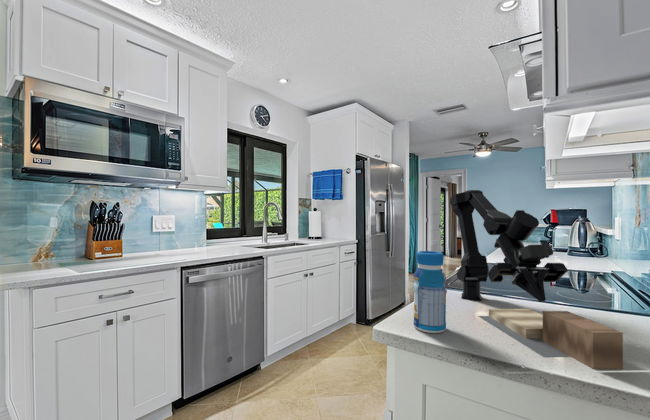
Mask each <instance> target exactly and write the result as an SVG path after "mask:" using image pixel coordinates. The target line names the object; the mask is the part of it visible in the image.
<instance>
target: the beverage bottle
mask: <svg viewBox="0 0 650 420" xmlns="http://www.w3.org/2000/svg"><path fill="white" fill-rule="evenodd" d="M444 262H445V261H444V253H443V252H440V251H433V250H420V251H417V252H416V264H417V265H418V267H417V268H416V270H415V272H414V273H413V274H414V275H413V280H414V283H413V285H412V290H413V326H414V328H415V329H416V330H418V331H420V332H424V333H428V334H440V333H443V332H445V331H446V330H447V322H446V320H447V319H446V318H447V317H446V315H447V313H446V312H447V311H446V310H447V309H446V308H447V292H448V289H447V285H446V282H447V277H446V274H445V272H444V270H443V269H442V267H443V266H444Z"/></svg>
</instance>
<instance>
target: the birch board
mask: <svg viewBox="0 0 650 420" xmlns="http://www.w3.org/2000/svg"><path fill="white" fill-rule="evenodd" d="M488 316H489V317H490V318H492V319H494V320H496V321H497V322H499V323H501V324H502V325H504V326H506V327H507V328H509V329H511V330H513V331H514V332H516V333H518V334H519V335H521V336H523V337H525V338H543V314H541V313H539V312H537V311H534V310H532V309H530V308H489V309H488Z"/></svg>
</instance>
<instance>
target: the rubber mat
mask: <svg viewBox="0 0 650 420" xmlns="http://www.w3.org/2000/svg"><path fill="white" fill-rule="evenodd" d="M477 317H479V318H480V319H482V320H483V321H485V322H487V324H489V325H491V326H493V327H494V328H496V329H498V330H499V331H501V332H502V333H504V334H506V335H507V336H509V337H510V338H511V339H514V340H515V341H517V342H518V343H520V344H522V345H523V346H524V347H527V348H528V349H529V350H531V351H533V352H534V353H536V354H538V355H539V356H542V357H543V358H572V357H571V356H569V355H567V354H565V353H564V352H562V351H560V350H558V349H556V348H555V347H553V346H551V345H549V344H547V343H546V342H544V341H543V338H525V337H523V336H521V335H519V334H518V333H516V332H514V331H513V330H511V329H509V328H507V327H506V326H504V325H502V324H501V323H499V322H497V321H496V320H494V319H492V318H490V317H489V315H478V316H477Z"/></svg>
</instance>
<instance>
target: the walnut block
mask: <svg viewBox="0 0 650 420" xmlns="http://www.w3.org/2000/svg"><path fill="white" fill-rule="evenodd" d="M542 315H543V341H544V342H546V343H547V344H549V345H551V346H553V347H555V348H556V349H558V350H560V351H562V352H564V353H565V354H567V355H569V356H571V357H570V358H573V359H575V360H576V361H579V362H580V363H582V364H584V365H585V366H587V367H589V368H591V369H593V370H601V369H603V370H607V369H609V370H610V369H612V370H613V369H618V370H619V369H624V361H623V360H624V351H623V350H624V344H623V343H624V338H623V336H624V333H623V331H620V330H617V329H614V328H612V327H610V326H607V325H604V324H601V323H600V322H596V321H594V320H591V319H588V318H586V317H584V316H581V315H579V314H576V313H574V312H570V311H567V310H552V311H551V310H548V311H547V310H543V311H542Z"/></svg>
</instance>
